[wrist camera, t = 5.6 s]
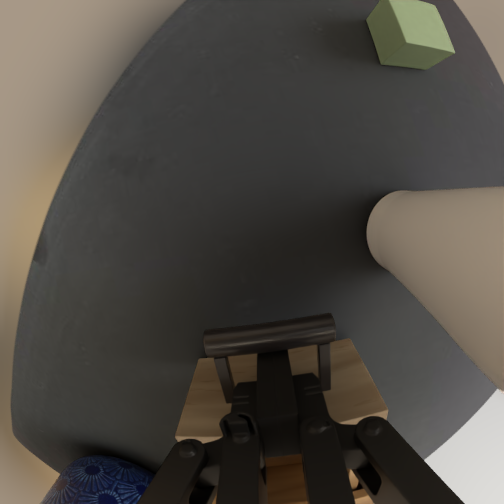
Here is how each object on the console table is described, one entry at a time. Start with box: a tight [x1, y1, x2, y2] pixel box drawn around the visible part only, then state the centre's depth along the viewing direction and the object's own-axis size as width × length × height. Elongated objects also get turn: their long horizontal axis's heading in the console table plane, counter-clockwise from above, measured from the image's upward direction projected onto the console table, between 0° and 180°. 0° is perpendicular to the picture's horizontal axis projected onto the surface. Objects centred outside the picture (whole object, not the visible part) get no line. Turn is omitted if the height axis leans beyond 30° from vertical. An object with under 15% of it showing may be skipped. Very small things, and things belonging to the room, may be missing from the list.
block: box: [366, 0, 455, 70], centre depth 12 cm, size 4×4×4 cm
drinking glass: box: [366, 186, 504, 394], centre depth 10 cm, size 7×7×15 cm
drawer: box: [175, 313, 388, 504], centre depth 16 cm, size 18×10×7 cm, turn 9°
